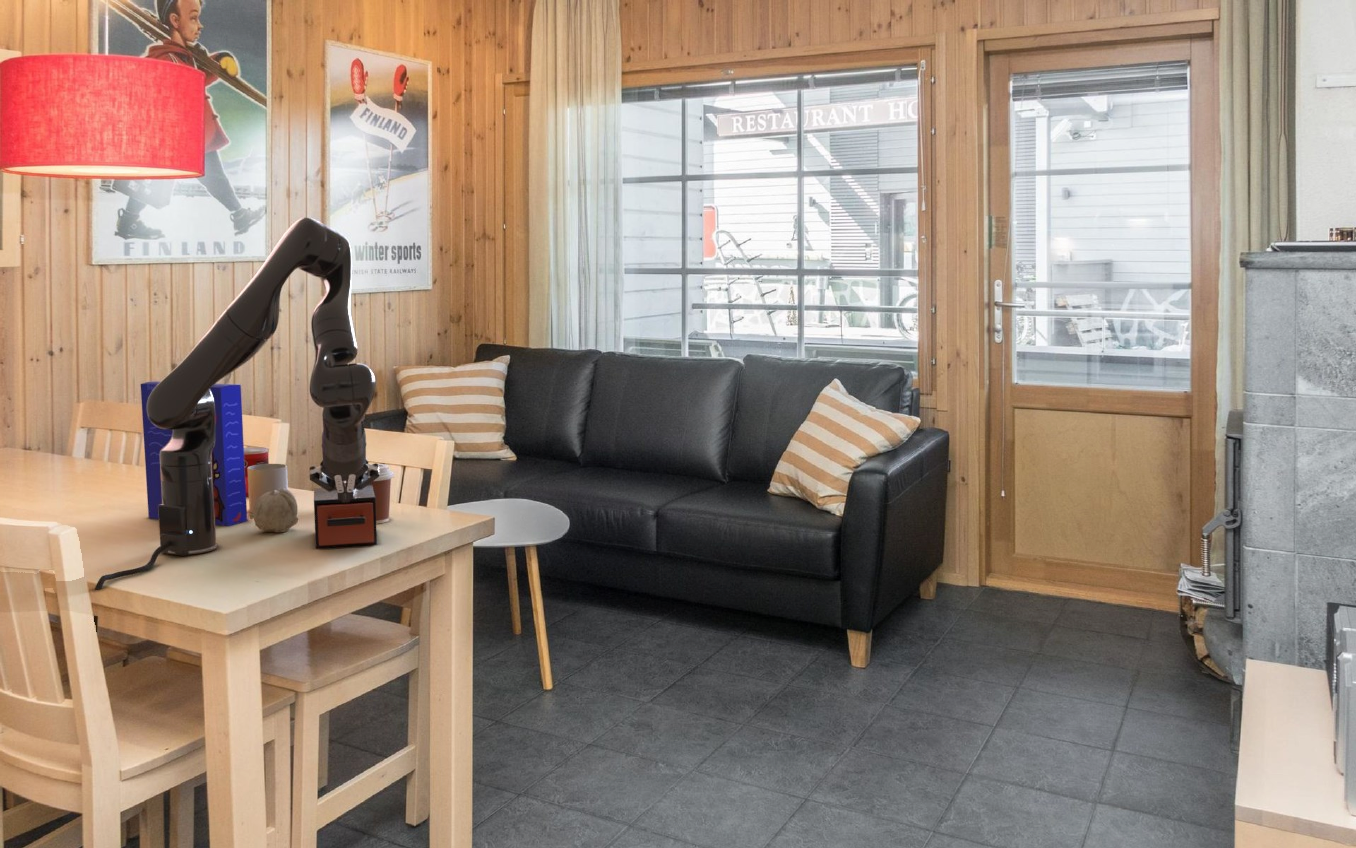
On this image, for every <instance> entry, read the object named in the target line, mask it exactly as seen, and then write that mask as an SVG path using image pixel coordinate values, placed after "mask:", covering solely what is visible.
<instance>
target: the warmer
mask: <svg viewBox="0 0 1356 848" xmlns="http://www.w3.org/2000/svg"><path fill="white" fill-rule="evenodd" d="M345 501H346V496H345ZM367 501H368V502H369V503H370V502H372V503H373V526H374V542H369V543H354V544H339V545H324V546H319V537H318V513H317V506H318V505H321V504H332V503H342V500H338V493H337V491H336V490H334V491H332V492H329V491H327V490H325V489H324V488H322V487H314V488H313V509H314V510H313V514H314V538H315V549H316V550H317V549H318V550H319V549H329V548H346V547H347V548H348V547H359V546H360V547H361V546H374V545H375V546H376V545H378V537H377V535H378V534H377V533H378V532H377V524H376V503H375V494H374V491H373V487H372V485H367V486H366V487H365V488H363V489H362V490H357V489H354V490H353V499H352V500H350V502H367ZM350 502H347V503H350Z"/></svg>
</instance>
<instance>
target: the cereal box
mask: <svg viewBox="0 0 1356 848" xmlns="http://www.w3.org/2000/svg"><path fill="white" fill-rule="evenodd" d="M161 381H162V380H160V381H159V380H157V381H146V382H143V383H140V398H141V399H140V400H141V413H142V414H141V415H142V431H143V448H144V464H145V465H144V466H145V479H146V481H145V482H146V495H147V496H146V497H147V513H148V514H147V515H148V519H152V520H159V514H158V505H159V504H162V490H161V472H160V451H161V449H162V448H163V447H164V446H165V445H166V444H167V443H168V442H169V441H170V439H171V437H172V434H173V430H166V429H161V428H159V427H157V426H155V425H154V424H153V423H152V422H151V421H150V419H149V417H148V415H147V401H148V398H149V395H150V393H151V392H152V390H153V389H154V388H155V387H156V386H157V385H158V384H159V383H160V382H161ZM210 390H211V392H212V394H213V398H214V402H215V446H214V449H213V451H212V472H213V491H214V510H215V526H223V527H229V526H233V525H236V524H239V523H243V522H246V521H248V508H247V507H248V506H247V496H246V483H245V463H244V448H245V445H244V443H245V442H244V423H243V405H242V402H243V401H242V385H241V384H235V383H234V384H233V383H215V384H214V385H213V386H212V387H211V388H210Z"/></svg>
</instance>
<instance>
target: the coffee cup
mask: <svg viewBox="0 0 1356 848" xmlns="http://www.w3.org/2000/svg"><path fill="white" fill-rule="evenodd" d="M369 464H370V465H373V464H374V463H369ZM378 464H379V474H380V476H379V477H378V478H377V479H375V480H374V481H373V482H371V483H370V484H369V485H372V487H373V491H374V494H375V503H376V525H377V524H383V523H387V522H389V521H390V504H391V502H390V501H391V486H392V483H391V482H392V479H393V478H395V476H394V475H395V474H394V472H393V471H391V470H390V467H389V465H388V464H384V463H378ZM363 480H364V479H363Z"/></svg>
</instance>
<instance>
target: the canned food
mask: <svg viewBox="0 0 1356 848" xmlns="http://www.w3.org/2000/svg"><path fill="white" fill-rule="evenodd" d="M244 463H245V483H246V497H249V490H248V469H247V468H248V467H249V466H253V465H260V464H270V463H269V450H268V447H263V446H249V447H248V446H247V447H246V446H244Z"/></svg>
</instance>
